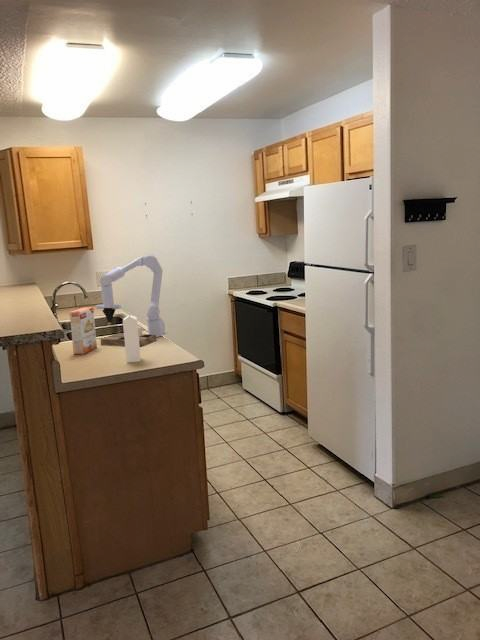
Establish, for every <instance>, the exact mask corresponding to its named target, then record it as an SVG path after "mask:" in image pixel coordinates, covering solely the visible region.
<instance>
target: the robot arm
mask: <svg viewBox="0 0 480 640" xmlns="http://www.w3.org/2000/svg"><path fill="white" fill-rule="evenodd" d="M143 266H145V267H147V268H149V270H150V271H151V272H153V277H152V287H151V295H150V302H149V303H150V304H149V308H148V309H147V313H146V316H147V320H146V321H147V322H146V323H147V332H148V333H147V334H152V335H156V338H159V337H162V336H164V335H166V334H168V333H167V332H166V326H165V325H166V324H165V320H164V319H163V318H161V317H160V308H159V307H160V306H159V304H160V298H161V297H160V295H161V287H162V277H163V268H162V266H161V264H160V262H159V260H158V258H156V257H155V256H154V255H153V254H151V253H148V254H146V255H143V256H140V257H138V258H136V259H134V260H132V261H131V262H129V263H127V264H126V265H124V266H122V267H120V266H118V267H117V266H115V267H113V269H112V270H110V271H109V272H108V271H107V272H105V274H103V275H102V276H100V279H99V284H101V285H100V286H101V289H100V290H101V299H102V304H97V305H96V306H95V307H96V309H97V310H102V313H103V314H104V316H105V318H106V320H107V323H112V322H113V321H114V320H113V319H114V314H115V312H116V310H121V309H122V306H121V304H115V303H114V293H113V292H114V291H113V287H112V283H114V282H116V281H118V280H120V279H121V278H124V277H125V274H126V273H127V272H128V271H130V270H133V269H135V268H136V267H143Z"/></svg>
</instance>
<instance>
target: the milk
mask: <svg viewBox="0 0 480 640" xmlns="http://www.w3.org/2000/svg"><path fill="white" fill-rule="evenodd" d="M138 326H139V324H138V317H137V316H135V315H132V314H131V312H130V311H128V315H126V317H124V318H123V319H122V327H123V333H124V340H125V346H124V347H125V355H126V356H125V358H126V363H135V362H136V363H137V362H141V358H142V357H141V347H140V346H139V335H138Z"/></svg>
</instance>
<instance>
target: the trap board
mask: <svg viewBox="0 0 480 640" xmlns="http://www.w3.org/2000/svg"><path fill="white" fill-rule="evenodd" d="M142 334H143V335H141V336H139V346H140V348H141V347H143V346H147V345H148V344H151V343H153V342H155V341H157V337H156V335H152V334H149V333H146V334H145V333H142ZM100 345H101V346H113V345H115V347H125V340H124V332H123V333H122V332H121V333H120V332H117V333H114V334H113V335H112V334H111V335H109V336H107V337H104V338H100Z"/></svg>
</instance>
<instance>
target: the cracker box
mask: <svg viewBox="0 0 480 640" xmlns="http://www.w3.org/2000/svg"><path fill="white" fill-rule="evenodd" d="M69 319H70V329H71V339H72V340H71V341H72V349H73V351H72V352H73V355H85V354H88V353H89V352H91V351H92V350H95V349H97V348H98V346H97V343H98V342H97V335H96V324H95V323H96V322H95V321H96V320H95V311H94V307H90V306H89V307H81V308H79V309H75V310H72V311H69Z"/></svg>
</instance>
